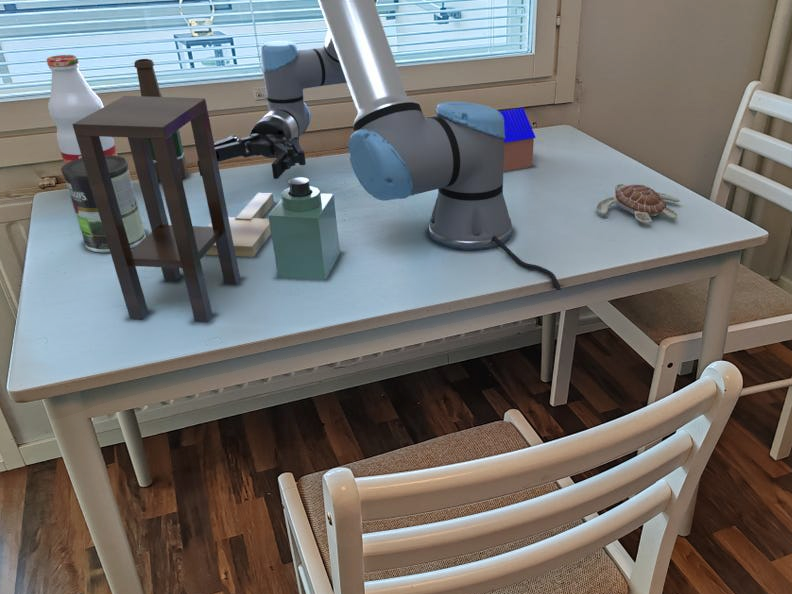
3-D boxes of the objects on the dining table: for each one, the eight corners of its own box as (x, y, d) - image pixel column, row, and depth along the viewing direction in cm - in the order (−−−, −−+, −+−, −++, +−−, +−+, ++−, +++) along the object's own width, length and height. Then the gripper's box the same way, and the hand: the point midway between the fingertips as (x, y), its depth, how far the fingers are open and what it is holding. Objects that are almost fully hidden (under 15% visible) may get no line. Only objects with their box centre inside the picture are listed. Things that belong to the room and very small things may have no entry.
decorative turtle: (653, 190, 156) (656, 167, 153) (701, 220, 143) (705, 195, 141) (577, 202, 150) (579, 179, 147) (620, 234, 137) (623, 209, 135)
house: (432, 164, 169) (430, 112, 162) (508, 151, 176) (510, 101, 170) (455, 180, 160) (454, 126, 153) (534, 166, 168) (537, 114, 161)
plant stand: (207, 322, 110) (162, 127, 94) (129, 318, 111) (71, 124, 94) (240, 279, 121) (205, 98, 105) (169, 275, 122) (124, 95, 106)
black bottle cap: (307, 199, 117) (305, 184, 116) (288, 198, 118) (285, 184, 116) (313, 191, 120) (311, 177, 119) (293, 190, 120) (291, 176, 119)
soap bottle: (325, 280, 121) (316, 205, 114) (278, 277, 122) (266, 203, 115) (340, 253, 130) (332, 182, 122) (295, 251, 130) (285, 180, 123)
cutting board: (253, 257, 128) (251, 245, 127) (192, 254, 129) (189, 242, 128) (293, 204, 148) (292, 193, 147) (240, 202, 149) (238, 191, 148)
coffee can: (99, 258, 127) (74, 179, 119) (76, 240, 133) (51, 164, 125) (156, 241, 133) (137, 165, 125) (132, 224, 139) (112, 150, 131)
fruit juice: (134, 196, 151) (95, 50, 135) (125, 214, 143) (83, 62, 127) (85, 199, 149) (40, 52, 134) (73, 218, 142) (24, 64, 126)
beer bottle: (176, 184, 157) (149, 65, 143) (143, 181, 158) (113, 63, 144) (195, 172, 163) (171, 57, 150) (163, 169, 164) (136, 55, 151)
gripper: (336, 154, 152) (308, 192, 134) (218, 150, 153) (175, 187, 136) (332, 117, 148) (303, 152, 130) (211, 114, 149) (165, 147, 132)
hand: (237, 170), depth 133 cm, fingers open, 13 cm apart
